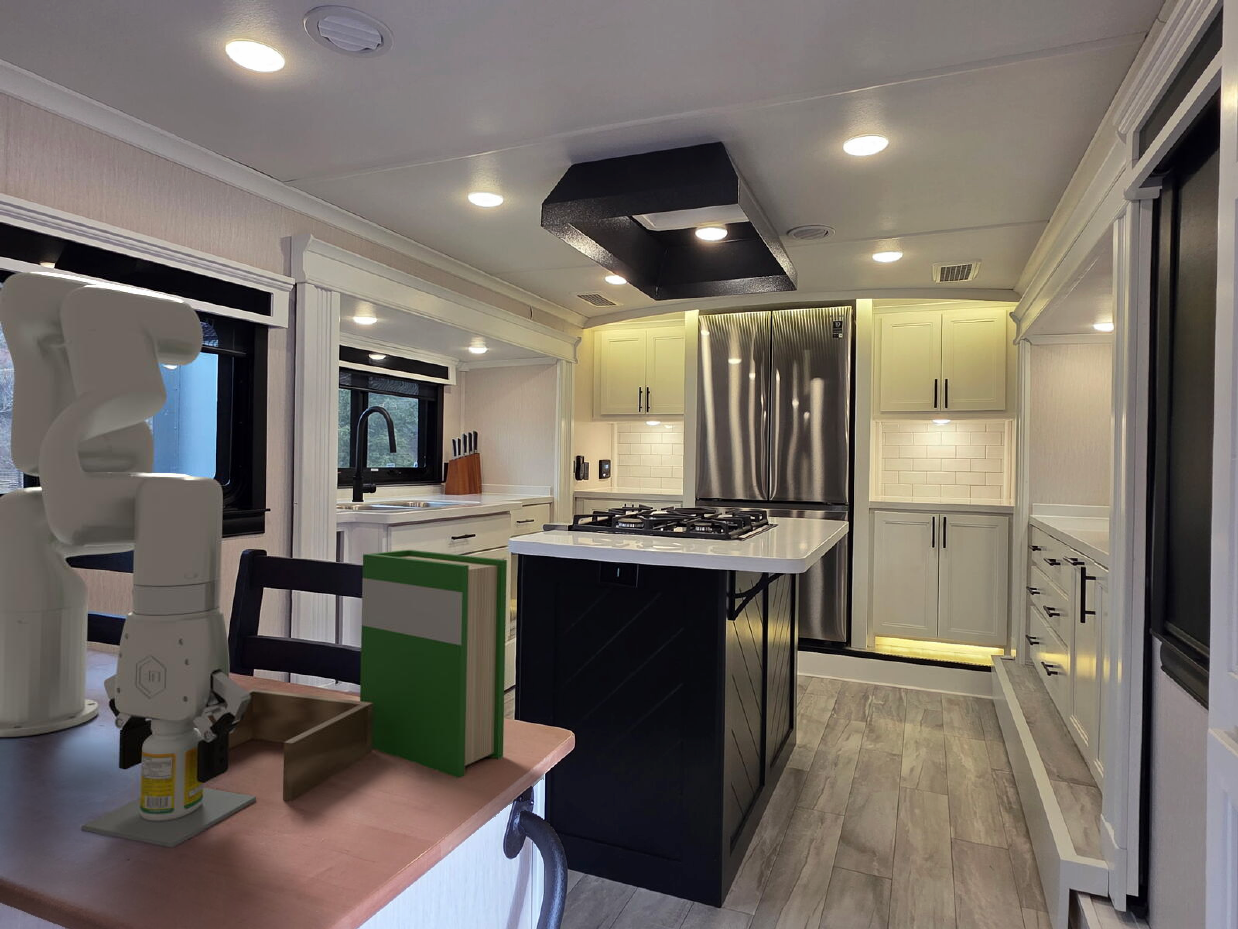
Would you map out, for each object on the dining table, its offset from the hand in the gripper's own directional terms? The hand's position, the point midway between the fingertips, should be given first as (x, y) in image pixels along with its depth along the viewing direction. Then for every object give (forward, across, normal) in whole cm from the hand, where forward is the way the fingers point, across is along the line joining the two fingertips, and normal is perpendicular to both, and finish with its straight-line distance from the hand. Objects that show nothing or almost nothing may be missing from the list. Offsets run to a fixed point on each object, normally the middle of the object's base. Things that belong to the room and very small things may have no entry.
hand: (173, 770), depth 72 cm
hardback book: (+5, +15, +23) cm, 28 cm away
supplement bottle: (+4, 0, 0) cm, 4 cm away
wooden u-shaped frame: (+4, 0, +13) cm, 14 cm away
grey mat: (+4, 0, 0) cm, 4 cm away
